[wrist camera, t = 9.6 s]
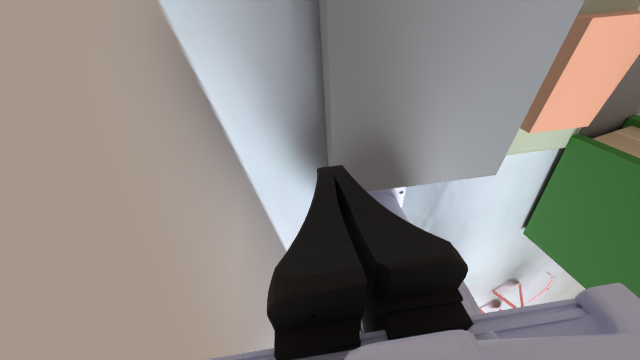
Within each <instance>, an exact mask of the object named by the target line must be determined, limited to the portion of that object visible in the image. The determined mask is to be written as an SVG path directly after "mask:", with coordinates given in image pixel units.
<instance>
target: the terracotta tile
mask: <svg viewBox="0 0 640 360" xmlns="http://www.w3.org/2000/svg"><path fill="white" fill-rule="evenodd" d="M639 54H640V10H629V11H618V12H607V13H596V14H585V15H577V17H576V18H575V20H574V22H573V24H572V26H571V28H570V30H569V32H568V34H567V36H566V38H565V40H564V42H563V44H562V46H561V48H560V50H559V52H558V54H557V56H556V58H555V60H554V62H553V64H552V66H551V68H550V70H549V71H548V73H547V75H546V77H545V79H544V81H543V83H542V85H541V87H540V89H539V91H538V93H537V95H536V97H535V99H534V101H533V103H532V105H531V107H530V109H529V111H528V113H527V115H526V117H525V119H524V121H523V123H522V124H521V126H520V129H522V130H524V131H526V132H528V133H537V132H546V131H554V130H562V129H571V128H579V127H588V126H589V125H590V123H591V122H592V120H593V119H594V118H595V116H596V115H597V113H598V112H599V110H600V109H601V108H602V106H603V105H604V103H605V102H606V101H607V99H608V98H609V96H610V95H611V94H612V92H613V91H614V89H615V88H616V87H617V85H618V84H619V82H620V81H621V80H622V78H623V77H624V75H625V74H626V73H627V71H628V70H629V68H630V67H631V66H632V64H633V63H634V61H635V60H636V58H637V57H638V56H639Z"/></svg>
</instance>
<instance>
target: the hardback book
mask: <svg viewBox="0 0 640 360" xmlns="http://www.w3.org/2000/svg"><path fill="white" fill-rule="evenodd" d="M523 234H525V235H526V236H527V237H528V238H529V239H530V240H531V241H532V242H534V243H535V244H536V245H537V246H538V247H539V248H540V249H541V250H543V251H544V252H545V253H546V254H547V255H548V256H549V257H551V258H552V259H553V260H554V261H555V262H556V263H557V264H558V265H560V266H561V267H562V268H563V269H564V270H565V271H566V272H567V273H569V274H570V275H571V276H572V277H573V278H574V279H575V280H576V281H578V282H579V283H580V284H581V285H582V286H583V287H584V288H586V289H588V288H591V287H595V286H601V285H607V284H613V283H621V284H623V285H624V286H625V287H627V288H628V289H629V290H630V291H631V292H632V293H634V294H635V295H636V296H637V297H638V298H639V299H640V116H638V115H635V116H632V117H629V118H628V119H627V121H626V122H625V124H624V125H623V127H622V128H621V129H620V130H617V131H614V132H611V133H608V134H605V135H602V136H599V137H596V138H593V139H592V138H590V137H587V136H585V135H582V134H577V135H573V136H571V138H570V140H569V142H568V144H567V146H566V148H565V150H564V152H563V154H562V156H561V158H560V160H559V162H558V164H557V166H556V168H555V170H554V172H553V174H552V176H551V178H550V180H549V182H548V184H547V187H546V189H545V191H544V193H543V195H542V197H541V199H540V201H539V203H538V205H537V207H536V209H535V211H534V213H533V215H532V217H531V219H530V221H529V223H528V225H527V227H526V229H525V231H524V233H523Z"/></svg>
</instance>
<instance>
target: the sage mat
mask: <svg viewBox="0 0 640 360" xmlns="http://www.w3.org/2000/svg"><path fill="white" fill-rule="evenodd" d="M629 10H640V0H585V1H584V3H583V5H582V7H581V9H580V11H579V13H578V15H585V14H596V13H607V12H618V11H629ZM582 128H583V127H579V128H571V129H562V130H554V131H546V132H537V133H528V132H526V131H524V130H522V129H520V128H519V130H518V132H517V134H516V136H515V138H514V140H513V142H512V144H511V146H510V148H509V150H508V152H507V154H506V155H512V154H520V153H527V152H535V151H543V150H551V149H559V148H566V146H567V144H568V142H569V140H570V138H571V136H573V135H577V134H578V133H579V132H580V130H581V129H582Z"/></svg>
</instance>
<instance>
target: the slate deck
mask: <svg viewBox="0 0 640 360" xmlns="http://www.w3.org/2000/svg"><path fill="white" fill-rule="evenodd" d="M318 1H319V19H320V36H321V54H322V71H323V89H324V106H325V124H326V141H327V159H328V167H329V166H337V165H343V166H344V167H345V169H346V170H347V171H348V172H349V174H350V175H351V176H352V177H353V178H354V179H355V180H356V181H357V182H358V183H359V184H360V185H361V187H362V188H363V189H364V190H366V191H367V192H370V191H378V190H385V189H393V188H400V187H408V186H415V185H423V184H431V183H438V182H446V181H453V180H461V179H469V178H476V177H484V176H491V175H496V174H497V172H498V170H499V168H500V166H501V164H502V162H503V160H504V158H505V156H506V154H507V152H508V150H509V148H510V146H511V144H512V142H513V140H514V138H515V136H516V134H517V132H518V130H519V128H520V126H521V124H522V123H523V121H524V119H525V117H526V115H527V113H528V111H529V109H530V107H531V105H532V103H533V101H534V99H535V97H536V95H537V93H538V91H539V89H540V87H541V85H542V83H543V81H544V79H545V77H546V75H547V73H548V71H549V70H550V68H551V66H552V64H553V62H554V60H555V58H556V56H557V54H558V52H559V50H560V48H561V46H562V44H563V42H564V40H565V38H566V36H567V34H568V32H569V30H570V28H571V26H572V24H573V22H574V20H575V18H576V17H577V15H578V13H579V11H580V9H581V7H582V5H583V3H584V1H585V0H318Z"/></svg>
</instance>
